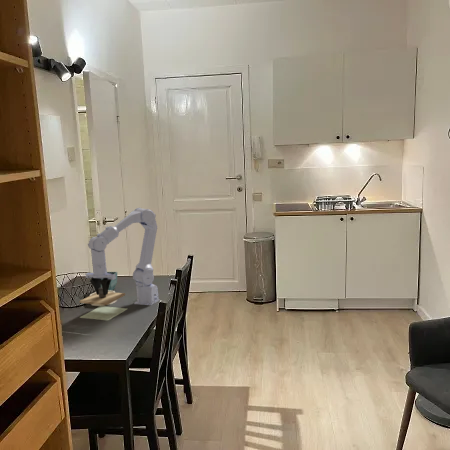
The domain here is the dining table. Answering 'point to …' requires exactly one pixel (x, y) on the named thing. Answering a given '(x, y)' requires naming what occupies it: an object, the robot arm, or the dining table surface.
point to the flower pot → (112, 281)
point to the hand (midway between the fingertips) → (102, 294)
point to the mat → (103, 313)
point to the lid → (102, 298)
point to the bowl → (103, 305)
